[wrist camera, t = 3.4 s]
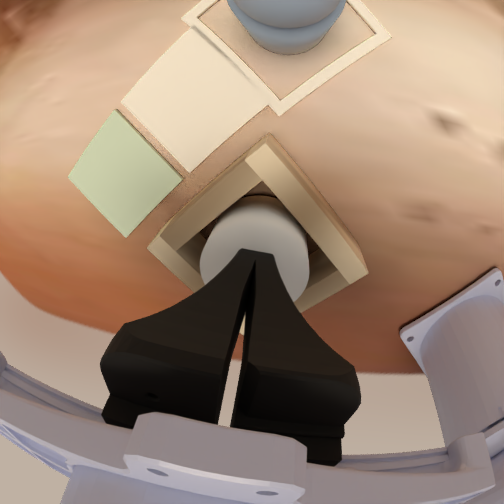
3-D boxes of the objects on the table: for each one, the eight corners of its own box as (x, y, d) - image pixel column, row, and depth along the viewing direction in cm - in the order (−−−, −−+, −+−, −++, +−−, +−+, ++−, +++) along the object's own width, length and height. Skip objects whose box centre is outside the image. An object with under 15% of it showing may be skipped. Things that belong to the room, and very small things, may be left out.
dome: (324, 246, 14) (330, 281, 12) (255, 290, 16) (249, 327, 14) (265, 176, 13) (259, 199, 11) (196, 232, 15) (178, 263, 12)
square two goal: (183, 178, 14) (182, 179, 14) (127, 236, 16) (125, 238, 16) (116, 109, 12) (114, 109, 12) (69, 176, 15) (67, 177, 14)
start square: (390, 38, 9) (392, 37, 9) (279, 116, 12) (278, 116, 12) (291, -60, 7) (291, -62, 7) (182, 19, 10) (180, 18, 10)
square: (272, 101, 12) (271, 101, 12) (190, 172, 14) (189, 173, 14) (195, 25, 10) (194, 24, 10) (122, 101, 12) (120, 102, 12)
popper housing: (358, 243, 15) (368, 273, 13) (254, 307, 18) (249, 340, 15) (269, 132, 13) (265, 143, 10) (166, 222, 15) (146, 248, 13)
